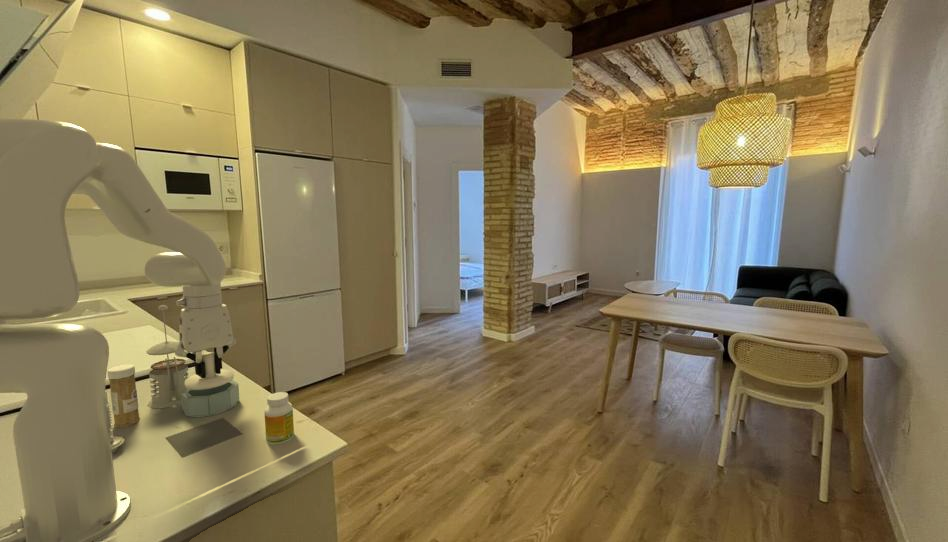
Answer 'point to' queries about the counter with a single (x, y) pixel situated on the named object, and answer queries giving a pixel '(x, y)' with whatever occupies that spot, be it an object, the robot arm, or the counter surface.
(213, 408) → the bowl
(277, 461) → the counter surface
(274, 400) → the supplement bottle
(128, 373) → the sprinkles bottle
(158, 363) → the french press
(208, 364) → the lid
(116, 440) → the screw
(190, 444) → the mat
